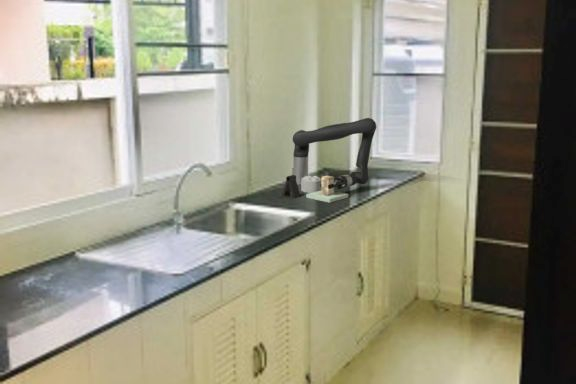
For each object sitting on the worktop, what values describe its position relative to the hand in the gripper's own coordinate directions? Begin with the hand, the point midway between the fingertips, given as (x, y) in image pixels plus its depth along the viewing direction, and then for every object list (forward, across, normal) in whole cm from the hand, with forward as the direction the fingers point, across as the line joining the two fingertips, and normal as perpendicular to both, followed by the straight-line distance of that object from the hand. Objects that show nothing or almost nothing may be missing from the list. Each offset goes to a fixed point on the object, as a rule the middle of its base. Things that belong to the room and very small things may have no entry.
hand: (324, 186), depth 340 cm
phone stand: (+9, -17, +7) cm, 21 cm away
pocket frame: (-3, 0, +7) cm, 7 cm away
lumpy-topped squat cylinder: (-10, -18, +7) cm, 22 cm away
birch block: (-3, 0, +7) cm, 7 cm away
